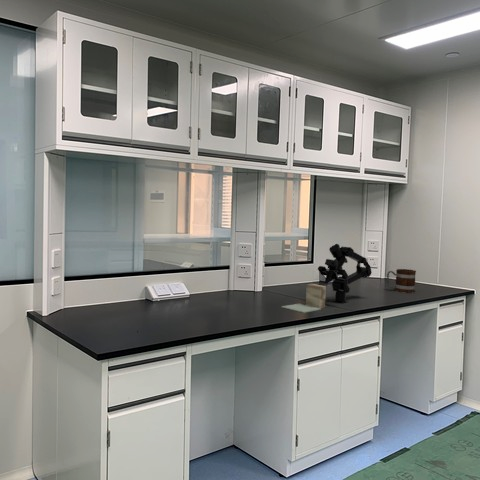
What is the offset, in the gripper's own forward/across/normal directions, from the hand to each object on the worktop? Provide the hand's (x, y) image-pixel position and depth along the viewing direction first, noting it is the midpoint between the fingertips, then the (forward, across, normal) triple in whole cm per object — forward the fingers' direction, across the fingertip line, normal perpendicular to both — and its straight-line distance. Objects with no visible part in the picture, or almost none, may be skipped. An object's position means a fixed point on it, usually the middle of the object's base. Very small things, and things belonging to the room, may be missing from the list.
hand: (325, 283), depth 276 cm
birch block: (+15, 0, +3) cm, 15 cm away
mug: (-51, 0, +69) cm, 86 cm away
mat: (+24, 0, -6) cm, 24 cm away
